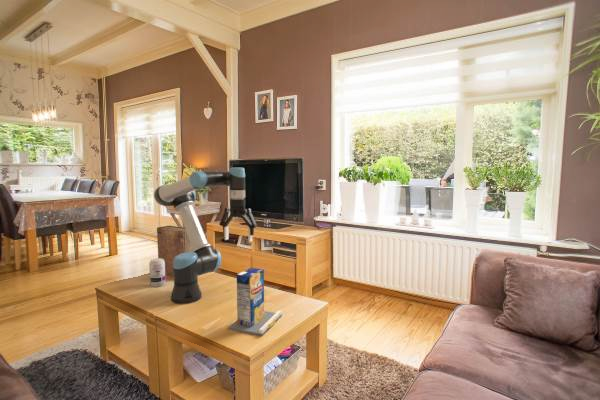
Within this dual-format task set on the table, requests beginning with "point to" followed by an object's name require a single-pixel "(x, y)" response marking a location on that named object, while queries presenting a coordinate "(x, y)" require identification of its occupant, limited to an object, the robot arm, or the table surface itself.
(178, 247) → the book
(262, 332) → the grey slab
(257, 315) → the beverage box
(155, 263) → the supplement can
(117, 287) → the table surface
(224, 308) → the table surface
